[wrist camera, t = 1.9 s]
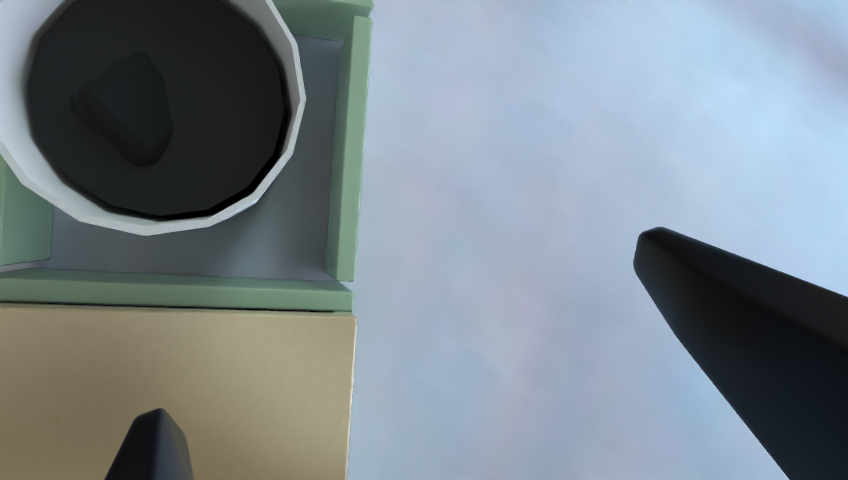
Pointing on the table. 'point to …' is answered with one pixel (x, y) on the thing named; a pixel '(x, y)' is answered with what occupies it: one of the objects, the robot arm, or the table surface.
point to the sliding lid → (176, 389)
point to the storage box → (31, 241)
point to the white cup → (148, 107)
